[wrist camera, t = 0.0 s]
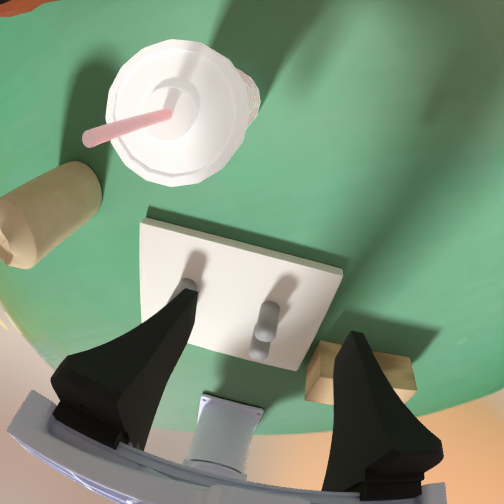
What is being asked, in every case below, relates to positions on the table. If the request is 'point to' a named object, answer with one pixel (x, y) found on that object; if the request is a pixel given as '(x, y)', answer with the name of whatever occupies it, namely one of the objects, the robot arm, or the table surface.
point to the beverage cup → (177, 112)
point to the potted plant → (19, 6)
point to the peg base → (237, 292)
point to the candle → (46, 212)
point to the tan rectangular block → (323, 367)
